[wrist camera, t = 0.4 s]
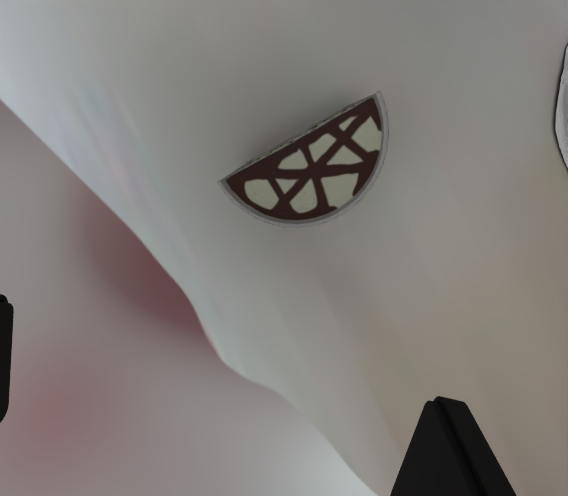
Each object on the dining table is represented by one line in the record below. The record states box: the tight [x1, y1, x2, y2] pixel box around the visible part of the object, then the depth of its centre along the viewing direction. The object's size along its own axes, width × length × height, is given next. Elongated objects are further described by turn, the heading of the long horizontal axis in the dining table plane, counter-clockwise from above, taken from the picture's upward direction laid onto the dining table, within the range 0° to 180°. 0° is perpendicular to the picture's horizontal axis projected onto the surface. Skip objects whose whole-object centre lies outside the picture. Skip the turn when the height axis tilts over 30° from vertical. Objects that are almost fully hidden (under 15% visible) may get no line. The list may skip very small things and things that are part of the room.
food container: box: [217, 91, 389, 227], centre depth 33 cm, size 12×6×10 cm, turn 119°
